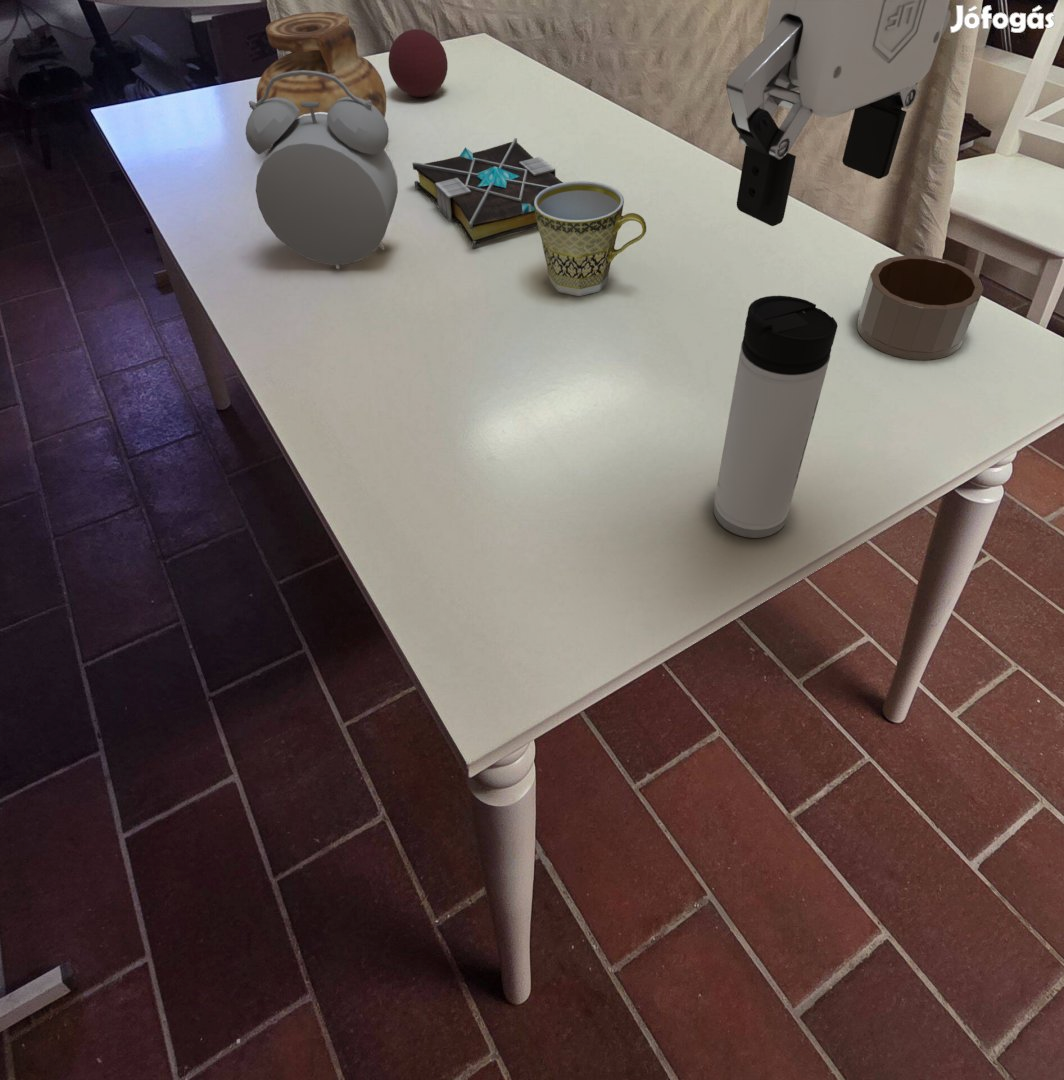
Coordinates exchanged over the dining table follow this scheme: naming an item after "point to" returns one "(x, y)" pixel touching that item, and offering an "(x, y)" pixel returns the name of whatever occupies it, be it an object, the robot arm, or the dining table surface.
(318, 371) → the dining table surface
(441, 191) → the book
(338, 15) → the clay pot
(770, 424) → the travel mug
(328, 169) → the alarm clock
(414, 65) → the decorative ball
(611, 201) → the ceramic cup
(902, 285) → the holder
